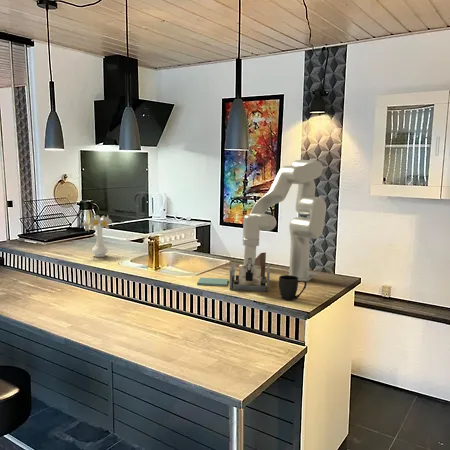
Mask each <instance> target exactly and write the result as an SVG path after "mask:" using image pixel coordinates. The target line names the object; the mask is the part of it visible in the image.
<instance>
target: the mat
mask: <svg viewBox="0 0 450 450" xmlns="http://www.w3.org/2000/svg"><path fill="white" fill-rule="evenodd" d="M228 283H229V279H228V278H216V277H215V278H213V277H200V278H199V279H198V281H197V283H196V285H197V286H208V285H209V286H210V287H227V286H228Z"/></svg>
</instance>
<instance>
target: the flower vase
mask: <svg viewBox="0 0 450 450" xmlns="http://www.w3.org/2000/svg"><path fill="white" fill-rule="evenodd" d="M82 220H83V222H81V223H82V226H83V227H84V230H85V232H87V231H88V232H89V231H90V227H92V229H94V230H95V229H96V243H95V245H94V246H93V247H92V249H91V253H92V254H93V255H94V257H95V258H105V257H106V255H107V254H108V251H109V249H108V248H107V246H105V243H104V241H103V229H104V228H105V229H107V230H109V229H110V226H109V225H112V226H114V224H113V223H112V219H111V218H110V217H109V215H108V214H107V216H105V215H102V216H101V217H100V215H98V214H96V215H95V217H93V216H92V217H90V221H91V222H89V223H88V222H87V221H86V220H85V219H82Z"/></svg>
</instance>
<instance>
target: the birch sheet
mask: <svg viewBox="0 0 450 450" xmlns="http://www.w3.org/2000/svg"><path fill="white" fill-rule="evenodd" d="M238 268H239V269H238V275H239V285H256V286H260V283H261V266H256V265H254V267H253V270H252V272H253V281H246V268H247V266H245V267H244V264H239V266H238Z"/></svg>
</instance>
